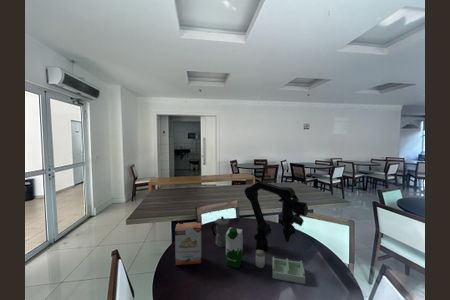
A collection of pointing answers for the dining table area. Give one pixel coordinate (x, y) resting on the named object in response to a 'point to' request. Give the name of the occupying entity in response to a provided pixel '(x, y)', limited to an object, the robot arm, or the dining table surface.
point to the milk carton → (234, 247)
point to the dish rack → (288, 270)
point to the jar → (260, 258)
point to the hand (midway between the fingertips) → (286, 237)
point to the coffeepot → (221, 231)
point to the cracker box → (188, 243)
